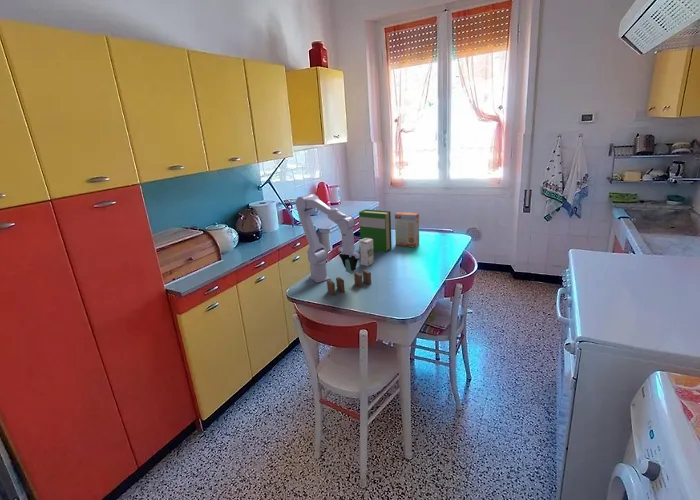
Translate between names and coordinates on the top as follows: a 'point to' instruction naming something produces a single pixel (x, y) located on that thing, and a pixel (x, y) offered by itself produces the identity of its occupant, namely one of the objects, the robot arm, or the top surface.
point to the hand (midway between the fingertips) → (349, 268)
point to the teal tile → (348, 267)
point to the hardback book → (376, 228)
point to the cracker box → (407, 229)
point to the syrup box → (366, 251)
